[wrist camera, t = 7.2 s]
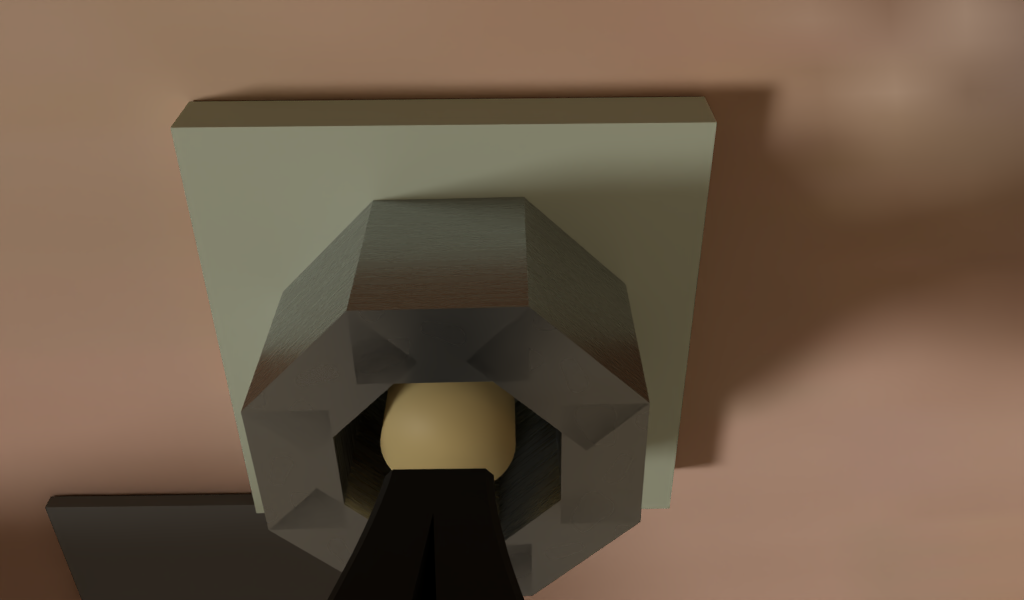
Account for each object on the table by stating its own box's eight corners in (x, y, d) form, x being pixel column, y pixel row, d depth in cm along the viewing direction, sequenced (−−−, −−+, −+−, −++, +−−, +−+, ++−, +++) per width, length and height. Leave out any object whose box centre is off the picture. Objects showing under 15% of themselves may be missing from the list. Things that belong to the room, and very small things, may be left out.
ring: (615, 462, 18) (634, 593, 15) (315, 469, 18) (284, 601, 15) (630, 194, 14) (658, 303, 12) (266, 202, 14) (217, 313, 12)
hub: (661, 471, 19) (690, 615, 16) (267, 476, 19) (224, 621, 16) (704, 96, 15) (755, 202, 12) (188, 102, 15) (111, 209, 12)
